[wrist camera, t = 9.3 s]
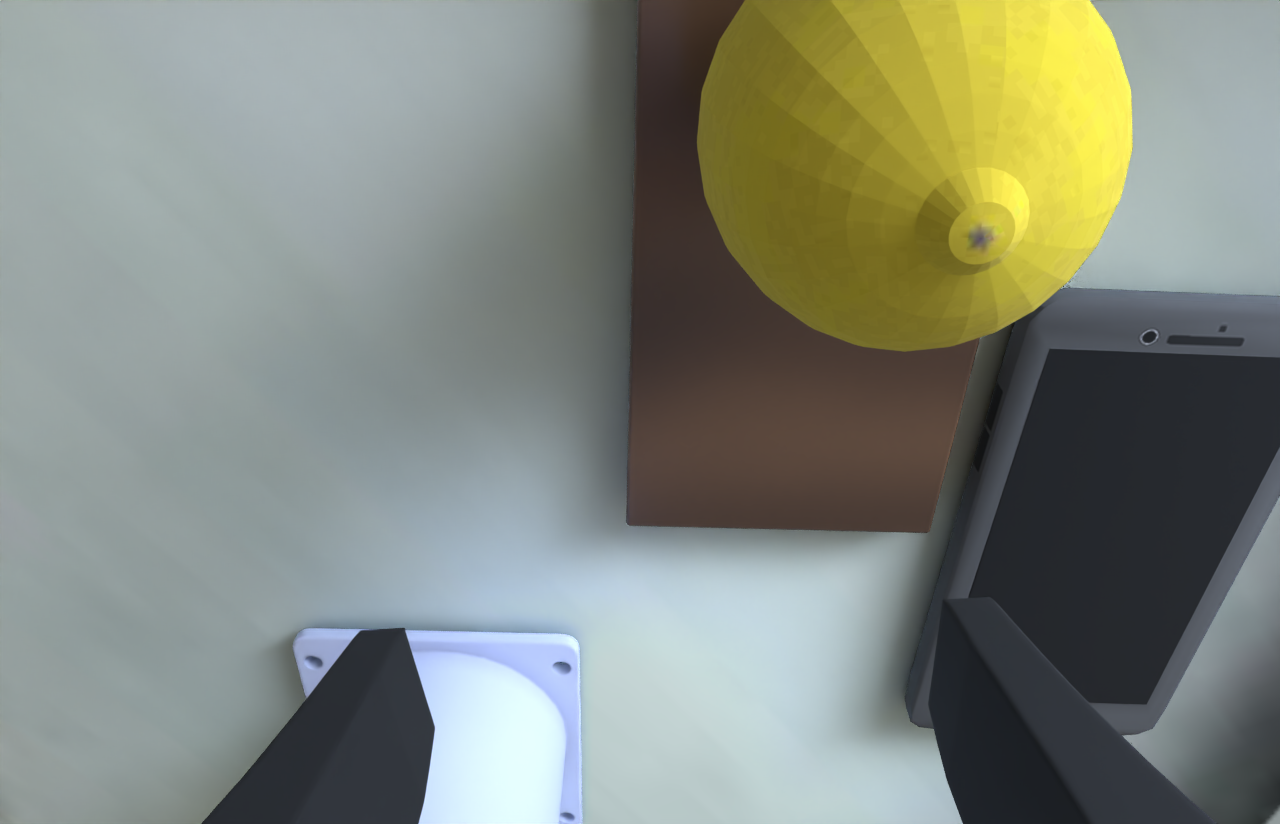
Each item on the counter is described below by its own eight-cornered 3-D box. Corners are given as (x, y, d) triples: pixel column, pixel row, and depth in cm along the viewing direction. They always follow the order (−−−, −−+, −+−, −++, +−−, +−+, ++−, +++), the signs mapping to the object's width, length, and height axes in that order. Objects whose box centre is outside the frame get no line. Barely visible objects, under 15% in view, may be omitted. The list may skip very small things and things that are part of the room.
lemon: (632, 14, 15) (620, 128, 8) (937, -168, 14) (1217, -207, 7) (763, 273, 18) (835, 521, 11) (1032, 142, 16) (1305, 333, 10)
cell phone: (897, 711, 26) (903, 732, 25) (1023, 281, 19) (1036, 296, 18) (1139, 719, 26) (1151, 740, 26) (1358, 294, 19) (1383, 309, 18)
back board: (919, 509, 22) (930, 534, 21) (627, 502, 22) (626, 527, 21) (1209, -666, 12) (1253, -708, 11) (652, -686, 12) (652, -729, 11)
